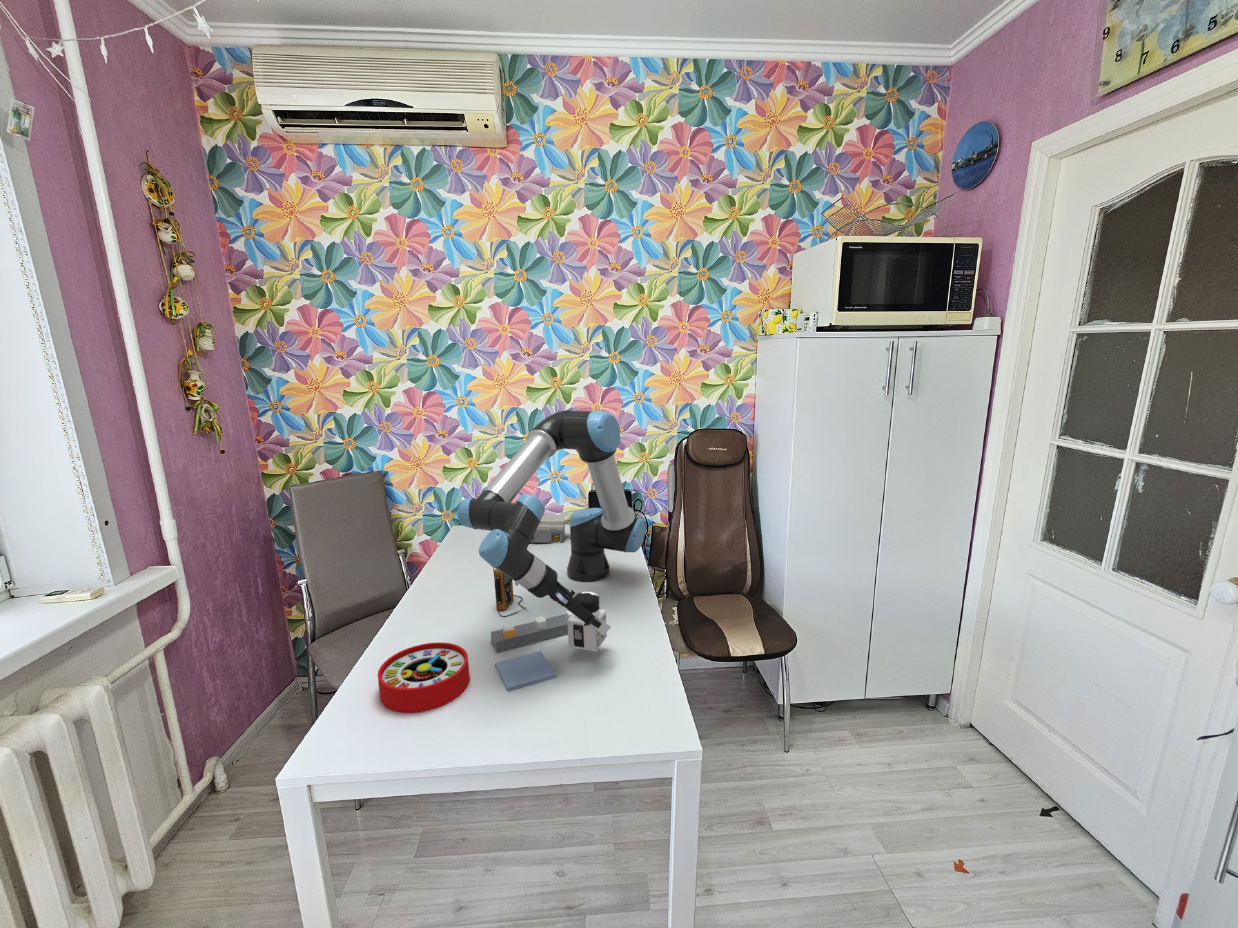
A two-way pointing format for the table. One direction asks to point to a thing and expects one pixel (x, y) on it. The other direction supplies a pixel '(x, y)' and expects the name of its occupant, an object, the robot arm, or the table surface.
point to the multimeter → (504, 591)
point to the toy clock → (423, 677)
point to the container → (586, 634)
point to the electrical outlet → (550, 529)
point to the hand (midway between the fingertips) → (597, 621)
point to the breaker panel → (530, 632)
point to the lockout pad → (524, 670)
